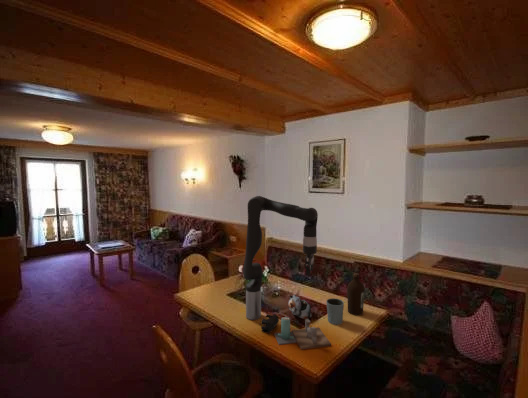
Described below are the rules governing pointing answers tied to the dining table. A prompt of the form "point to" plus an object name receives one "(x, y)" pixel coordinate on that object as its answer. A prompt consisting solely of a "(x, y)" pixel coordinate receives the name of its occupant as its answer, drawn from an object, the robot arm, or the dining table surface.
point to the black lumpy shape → (269, 323)
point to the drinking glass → (335, 311)
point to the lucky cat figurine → (299, 307)
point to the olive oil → (355, 296)
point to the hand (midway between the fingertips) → (309, 273)
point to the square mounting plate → (310, 337)
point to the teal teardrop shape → (285, 329)
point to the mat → (282, 341)
